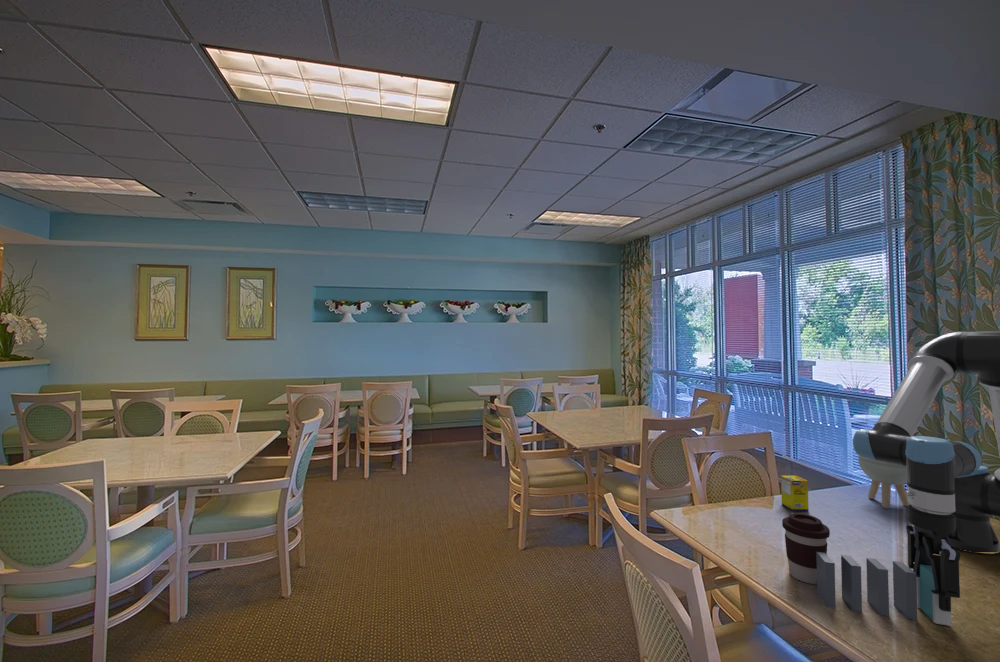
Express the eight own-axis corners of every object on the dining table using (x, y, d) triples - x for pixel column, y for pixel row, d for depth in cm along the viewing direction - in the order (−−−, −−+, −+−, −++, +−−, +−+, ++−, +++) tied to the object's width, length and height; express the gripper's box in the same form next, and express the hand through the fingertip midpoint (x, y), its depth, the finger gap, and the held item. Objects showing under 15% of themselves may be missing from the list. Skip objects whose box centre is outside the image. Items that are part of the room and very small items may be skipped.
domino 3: (876, 602, 99) (875, 558, 99) (889, 615, 94) (888, 569, 95) (867, 601, 100) (866, 557, 100) (879, 614, 95) (878, 568, 95)
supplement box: (809, 511, 152) (808, 480, 152) (792, 511, 152) (791, 480, 152) (797, 505, 157) (797, 475, 158) (781, 505, 158) (780, 475, 158)
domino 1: (825, 595, 102) (825, 552, 102) (835, 607, 97) (834, 563, 98) (817, 593, 103) (816, 551, 103) (826, 606, 98) (825, 562, 98)
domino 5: (930, 610, 96) (929, 565, 96) (946, 624, 91) (945, 577, 92) (920, 608, 97) (919, 564, 97) (935, 622, 92) (934, 575, 92)
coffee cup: (833, 592, 103) (831, 530, 103) (783, 580, 108) (782, 520, 109) (828, 573, 111) (827, 515, 112) (782, 563, 117) (781, 507, 117)
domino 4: (903, 606, 98) (902, 562, 98) (917, 620, 93) (916, 573, 93) (893, 604, 98) (892, 560, 98) (907, 618, 93) (906, 572, 94)
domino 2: (851, 598, 101) (850, 555, 101) (862, 611, 96) (861, 566, 96) (841, 597, 101) (841, 554, 101) (852, 610, 96) (851, 565, 97)
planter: (885, 513, 150) (884, 449, 150) (848, 496, 166) (846, 438, 166) (931, 512, 150) (929, 448, 150) (889, 496, 166) (887, 438, 167)
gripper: (886, 492, 104) (888, 589, 104) (937, 523, 87) (940, 639, 87) (924, 496, 102) (927, 594, 102) (984, 527, 85) (987, 646, 84)
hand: (933, 615), depth 94 cm, fingers closed on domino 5, 5 cm apart
